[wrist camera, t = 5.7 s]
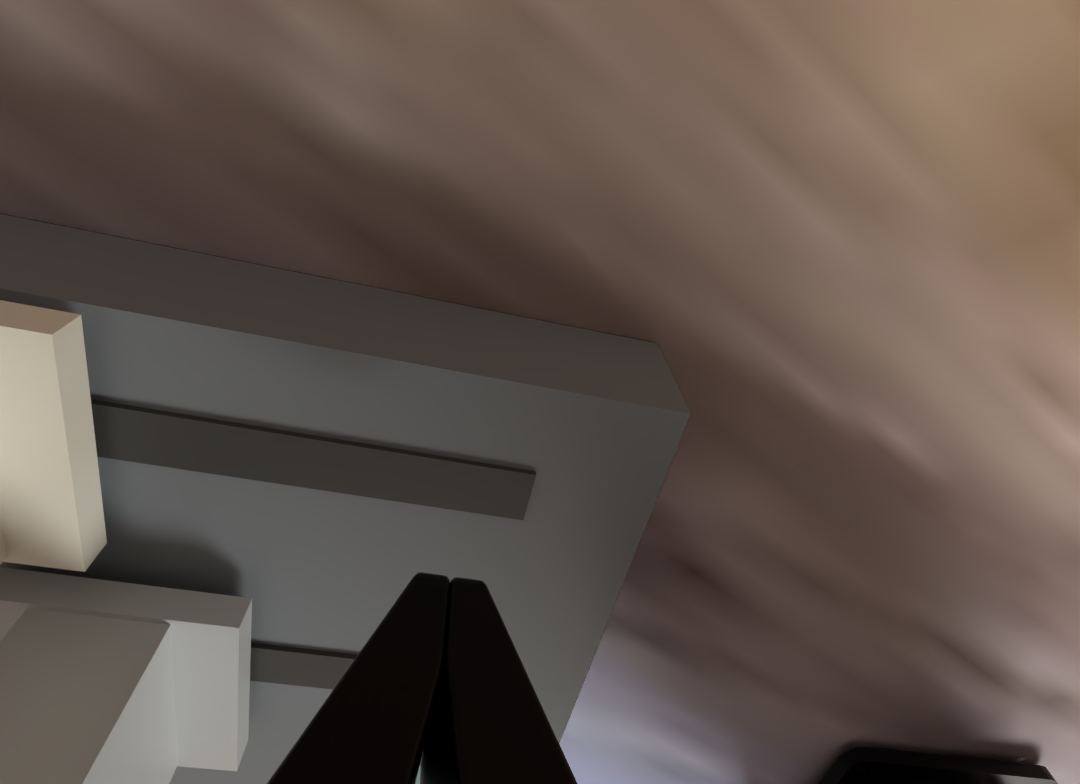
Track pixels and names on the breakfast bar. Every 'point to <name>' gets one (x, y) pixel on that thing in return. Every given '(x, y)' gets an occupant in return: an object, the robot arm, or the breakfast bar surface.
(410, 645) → the robot arm
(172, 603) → the white stepped block
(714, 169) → the breakfast bar surface
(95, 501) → the cream flanged block
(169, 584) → the console
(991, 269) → the breakfast bar surface
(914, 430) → the breakfast bar surface
